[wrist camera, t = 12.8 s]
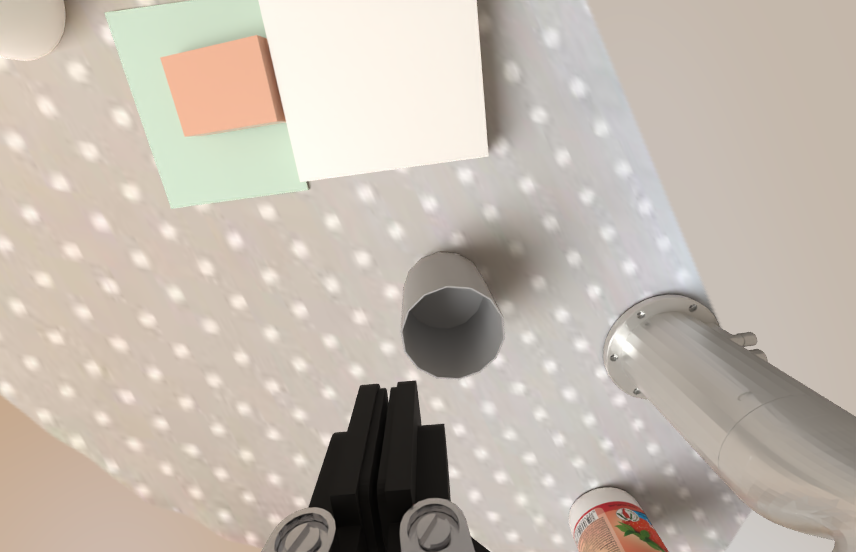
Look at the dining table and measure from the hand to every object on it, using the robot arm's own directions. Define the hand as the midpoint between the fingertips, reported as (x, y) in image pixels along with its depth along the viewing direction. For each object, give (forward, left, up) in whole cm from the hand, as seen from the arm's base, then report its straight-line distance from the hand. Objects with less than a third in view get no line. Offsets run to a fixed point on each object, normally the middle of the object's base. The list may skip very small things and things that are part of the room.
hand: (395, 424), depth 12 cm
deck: (0, -13, -29) cm, 31 cm away
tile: (+12, -14, -27) cm, 33 cm away
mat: (+15, -13, -29) cm, 35 cm away
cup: (-3, +7, -29) cm, 30 cm away
